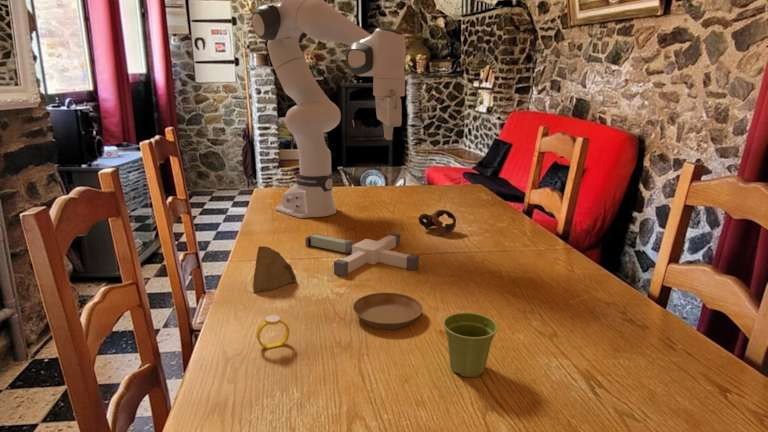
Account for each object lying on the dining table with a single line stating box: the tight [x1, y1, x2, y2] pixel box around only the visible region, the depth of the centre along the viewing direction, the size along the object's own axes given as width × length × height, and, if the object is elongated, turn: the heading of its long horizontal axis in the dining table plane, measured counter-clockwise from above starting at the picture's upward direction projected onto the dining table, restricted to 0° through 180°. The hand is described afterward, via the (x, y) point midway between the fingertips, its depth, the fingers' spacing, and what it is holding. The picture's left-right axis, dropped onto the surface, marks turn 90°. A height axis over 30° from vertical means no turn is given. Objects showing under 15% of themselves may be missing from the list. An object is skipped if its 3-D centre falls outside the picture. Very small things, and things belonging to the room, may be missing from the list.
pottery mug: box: [418, 209, 457, 237], centre depth 166 cm, size 12×10×8 cm
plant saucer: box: [352, 292, 423, 330], centre depth 110 cm, size 15×15×3 cm
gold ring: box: [255, 314, 291, 350], centre depth 98 cm, size 6×3×6 cm, turn 115°
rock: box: [252, 245, 298, 294], centre depth 124 cm, size 11×9×10 cm
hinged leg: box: [310, 233, 354, 255], centre depth 149 cm, size 14×2×3 cm, turn 61°
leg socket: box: [305, 233, 326, 248], centre depth 153 cm, size 5×5×3 cm
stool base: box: [333, 231, 420, 277], centre depth 141 cm, size 20×29×4 cm
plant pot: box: [442, 312, 499, 378], centre depth 91 cm, size 9×9×9 cm
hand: (388, 139), depth 148 cm, fingers closed
